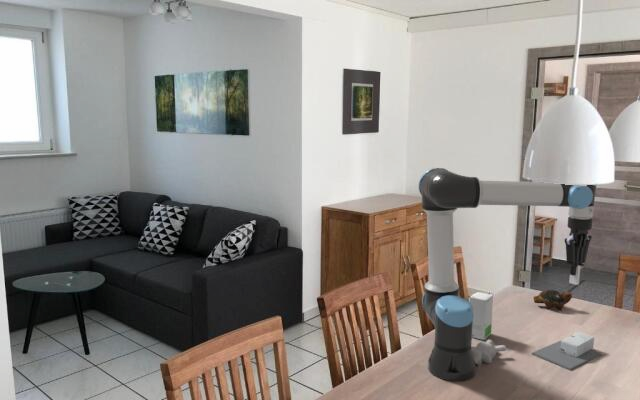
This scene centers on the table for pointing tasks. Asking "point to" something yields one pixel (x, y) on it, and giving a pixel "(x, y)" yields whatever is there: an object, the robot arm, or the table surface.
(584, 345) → the skincare box
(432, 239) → the robot arm
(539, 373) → the table surface
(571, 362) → the mat
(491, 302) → the skincare box
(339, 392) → the table surface
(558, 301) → the decorative turtle
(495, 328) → the table surface
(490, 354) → the bunny figurine
